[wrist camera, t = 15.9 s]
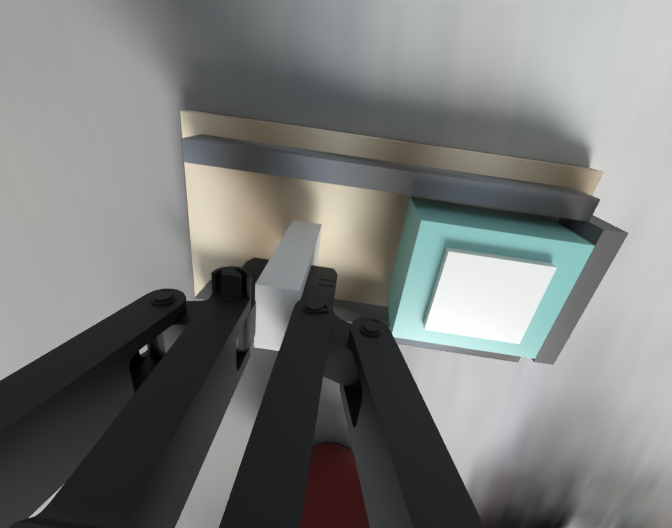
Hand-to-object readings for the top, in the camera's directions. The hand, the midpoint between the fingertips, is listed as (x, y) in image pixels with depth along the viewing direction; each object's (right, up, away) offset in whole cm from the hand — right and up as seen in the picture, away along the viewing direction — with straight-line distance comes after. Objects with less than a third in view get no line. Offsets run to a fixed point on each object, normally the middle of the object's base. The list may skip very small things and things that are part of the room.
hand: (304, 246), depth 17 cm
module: (+8, -1, +1) cm, 8 cm away
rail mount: (+3, 0, +2) cm, 4 cm away
